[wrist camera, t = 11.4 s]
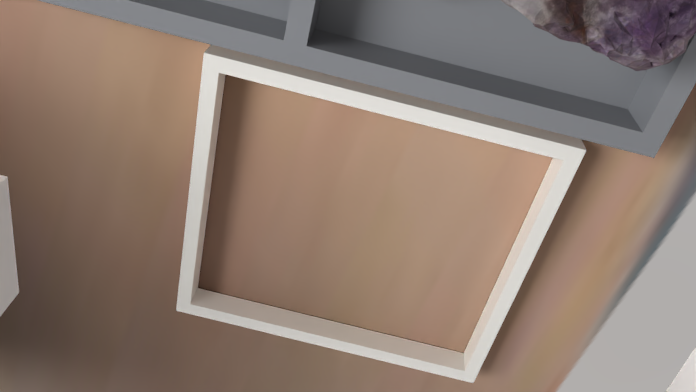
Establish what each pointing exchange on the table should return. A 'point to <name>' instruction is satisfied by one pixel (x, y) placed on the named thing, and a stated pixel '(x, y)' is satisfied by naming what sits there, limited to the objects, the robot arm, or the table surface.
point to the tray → (392, 104)
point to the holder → (440, 58)
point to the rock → (618, 27)
